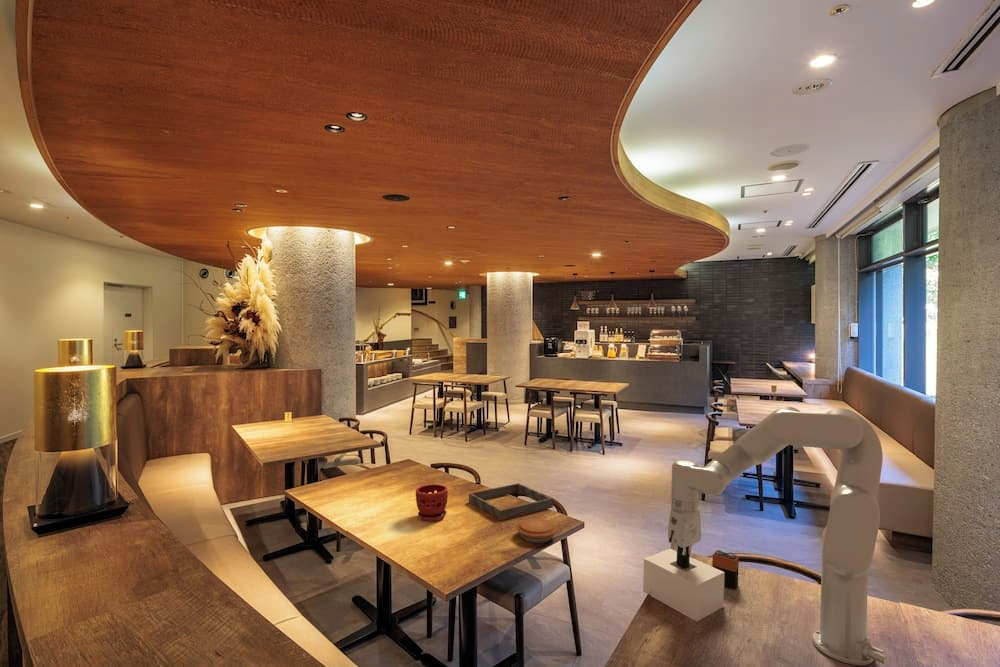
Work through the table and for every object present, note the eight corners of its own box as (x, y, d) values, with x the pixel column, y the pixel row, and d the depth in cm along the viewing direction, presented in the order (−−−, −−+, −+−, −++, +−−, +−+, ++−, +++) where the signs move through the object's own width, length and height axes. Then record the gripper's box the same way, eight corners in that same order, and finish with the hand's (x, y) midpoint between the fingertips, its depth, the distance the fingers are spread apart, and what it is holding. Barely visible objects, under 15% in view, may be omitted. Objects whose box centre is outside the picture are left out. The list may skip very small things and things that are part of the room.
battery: (734, 590, 150) (735, 558, 150) (711, 583, 154) (712, 551, 154) (738, 584, 154) (739, 553, 154) (715, 577, 158) (716, 546, 158)
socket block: (723, 606, 141) (724, 572, 141) (696, 621, 134) (697, 585, 134) (670, 579, 156) (670, 548, 156) (643, 591, 149) (643, 558, 148)
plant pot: (450, 512, 209) (450, 483, 209) (443, 524, 196) (444, 494, 196) (420, 510, 211) (420, 482, 211) (411, 522, 198) (412, 492, 197)
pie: (554, 547, 177) (555, 534, 177) (512, 543, 181) (512, 529, 180) (558, 530, 193) (558, 517, 192) (519, 526, 196) (519, 514, 196)
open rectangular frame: (552, 507, 217) (552, 498, 217) (500, 520, 201) (500, 511, 201) (518, 491, 237) (518, 483, 237) (468, 502, 221) (469, 493, 221)
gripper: (680, 513, 137) (678, 578, 137) (710, 503, 146) (709, 564, 146) (657, 505, 143) (656, 567, 144) (688, 495, 152) (687, 554, 152)
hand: (682, 566), depth 145 cm, fingers closed
